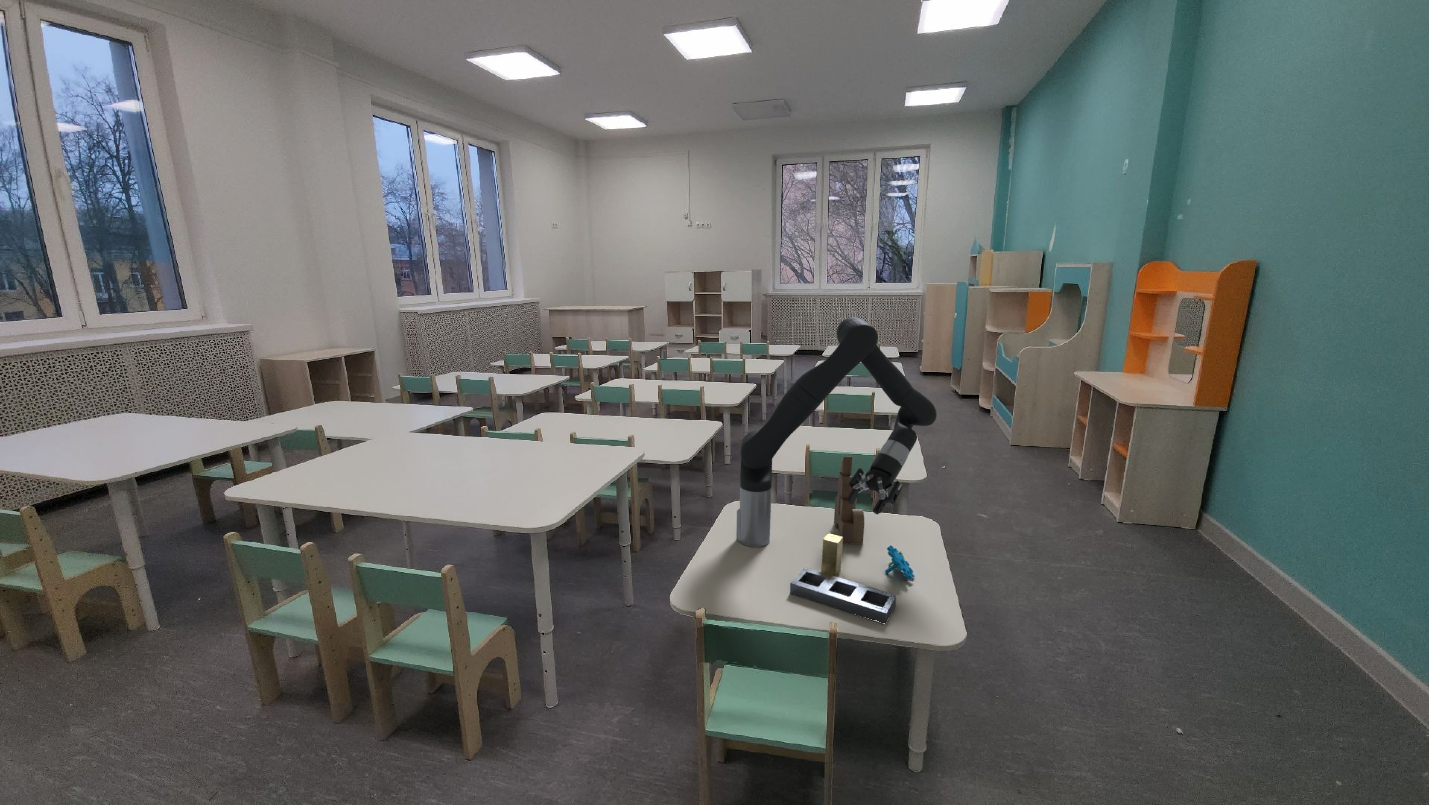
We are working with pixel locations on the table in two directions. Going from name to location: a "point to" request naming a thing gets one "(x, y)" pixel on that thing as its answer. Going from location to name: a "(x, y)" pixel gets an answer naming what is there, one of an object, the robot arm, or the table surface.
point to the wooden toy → (847, 508)
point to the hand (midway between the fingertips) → (862, 507)
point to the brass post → (832, 554)
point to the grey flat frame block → (848, 604)
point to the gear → (899, 563)
